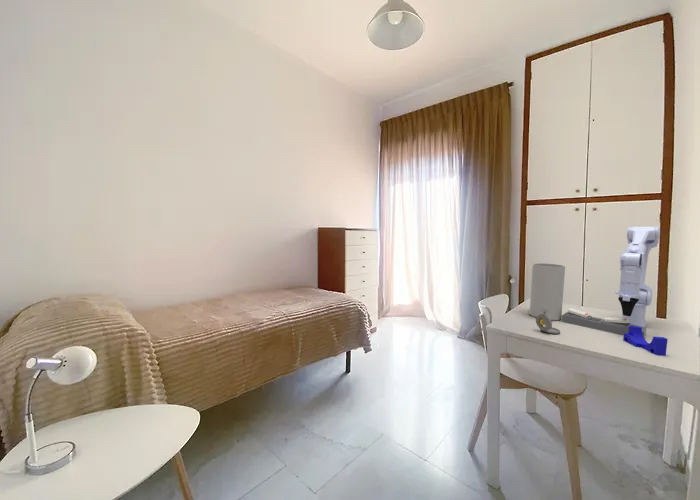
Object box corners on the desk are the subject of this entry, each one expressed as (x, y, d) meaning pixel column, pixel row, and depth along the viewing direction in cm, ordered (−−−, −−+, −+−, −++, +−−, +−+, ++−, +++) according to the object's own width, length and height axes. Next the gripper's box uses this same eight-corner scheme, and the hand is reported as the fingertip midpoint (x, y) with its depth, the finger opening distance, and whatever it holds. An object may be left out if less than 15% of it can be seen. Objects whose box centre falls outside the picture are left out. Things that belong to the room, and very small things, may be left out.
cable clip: (623, 340, 107) (624, 325, 107) (636, 341, 106) (638, 326, 106) (649, 354, 95) (651, 337, 95) (665, 356, 95) (667, 338, 94)
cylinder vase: (523, 314, 138) (526, 264, 136) (539, 311, 143) (542, 262, 141) (551, 322, 126) (554, 267, 124) (567, 319, 132) (571, 266, 130)
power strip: (566, 318, 133) (567, 310, 133) (645, 334, 113) (646, 325, 113) (561, 321, 128) (562, 313, 128) (643, 339, 108) (644, 330, 108)
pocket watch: (561, 331, 116) (562, 307, 115) (558, 337, 110) (559, 312, 109) (537, 326, 121) (539, 303, 120) (533, 331, 115) (535, 308, 114)
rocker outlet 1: (569, 310, 131) (570, 307, 130) (588, 317, 125) (589, 313, 125) (567, 312, 128) (568, 309, 127) (586, 319, 123) (587, 315, 122)
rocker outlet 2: (606, 320, 121) (605, 316, 121) (628, 322, 116) (628, 318, 116) (604, 322, 118) (603, 318, 118) (627, 324, 113) (626, 320, 113)
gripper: (619, 279, 121) (616, 310, 122) (613, 283, 112) (610, 316, 113) (642, 281, 115) (639, 314, 117) (638, 286, 106) (635, 321, 107)
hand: (626, 315), depth 114 cm, fingers closed
